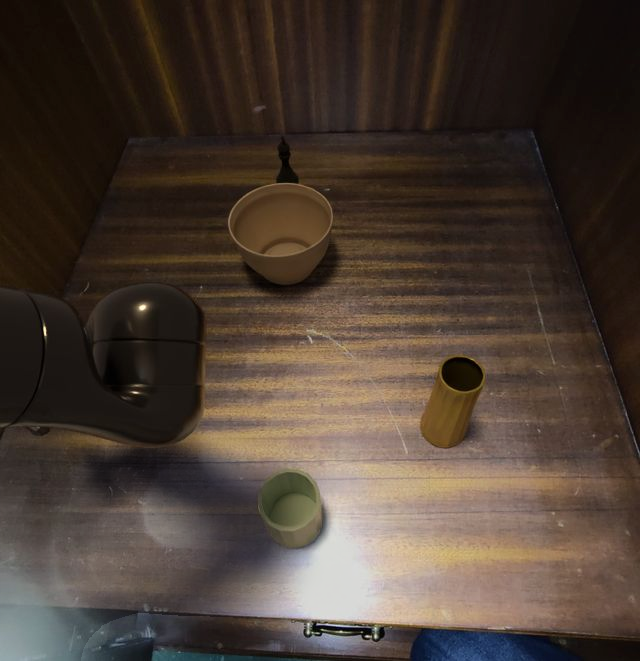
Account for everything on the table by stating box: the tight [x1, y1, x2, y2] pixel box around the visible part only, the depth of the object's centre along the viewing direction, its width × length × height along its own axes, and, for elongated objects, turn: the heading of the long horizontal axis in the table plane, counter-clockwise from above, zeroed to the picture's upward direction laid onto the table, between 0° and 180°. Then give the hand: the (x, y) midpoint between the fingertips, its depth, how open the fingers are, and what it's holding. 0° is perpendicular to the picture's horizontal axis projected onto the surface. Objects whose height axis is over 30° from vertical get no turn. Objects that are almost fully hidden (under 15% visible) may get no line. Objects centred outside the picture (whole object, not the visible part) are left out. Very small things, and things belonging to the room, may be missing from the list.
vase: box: [419, 353, 487, 449], centre depth 64 cm, size 6×6×14 cm
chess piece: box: [275, 135, 300, 184], centre depth 97 cm, size 4×4×10 cm
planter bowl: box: [227, 183, 334, 286], centre depth 84 cm, size 16×16×11 cm
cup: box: [257, 467, 324, 549], centre depth 60 cm, size 7×7×8 cm
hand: (70, 378), depth 61 cm, fingers open, 8 cm apart
